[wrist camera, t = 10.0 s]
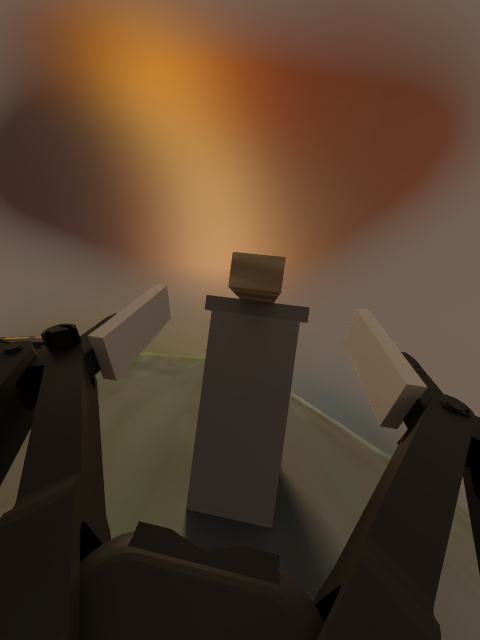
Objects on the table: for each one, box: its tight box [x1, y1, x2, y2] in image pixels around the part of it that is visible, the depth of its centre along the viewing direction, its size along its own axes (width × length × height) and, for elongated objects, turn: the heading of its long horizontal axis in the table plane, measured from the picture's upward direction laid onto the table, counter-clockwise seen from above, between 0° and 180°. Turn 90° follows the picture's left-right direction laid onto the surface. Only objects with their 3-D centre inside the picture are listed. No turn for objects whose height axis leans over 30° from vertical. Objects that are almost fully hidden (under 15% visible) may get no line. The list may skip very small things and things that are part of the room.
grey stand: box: [186, 295, 309, 528], centre depth 39 cm, size 18×14×30 cm
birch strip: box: [229, 252, 285, 303], centre depth 32 cm, size 28×4×3 cm, turn 174°
